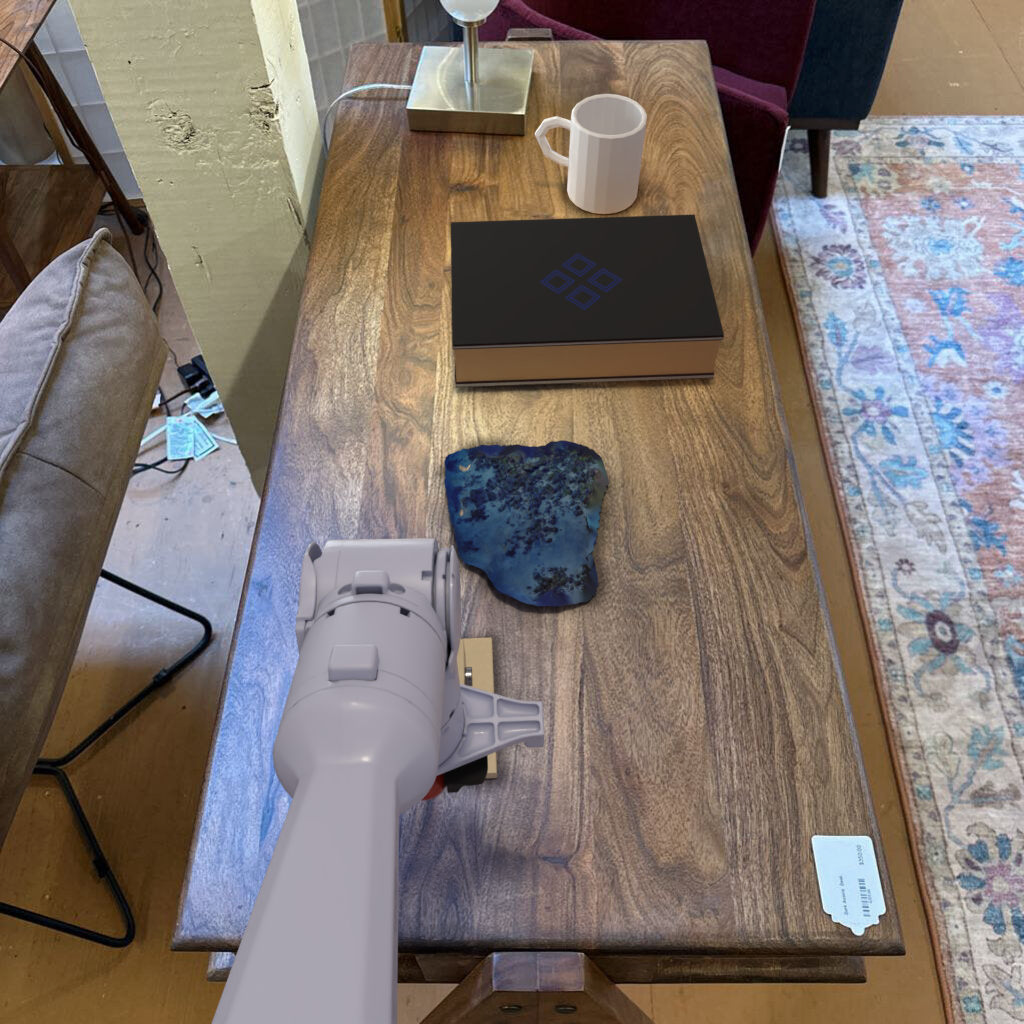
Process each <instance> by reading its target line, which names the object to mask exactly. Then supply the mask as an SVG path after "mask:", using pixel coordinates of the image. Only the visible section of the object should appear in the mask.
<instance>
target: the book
mask: <svg viewBox="0 0 1024 1024" xmlns="http://www.w3.org/2000/svg"><path fill="white" fill-rule="evenodd" d="M700 235H701V234H700V231H699V225H698V222H697V218H696V215H695V214H668V215H667V214H666V215H665V214H664V215H636V216H635V215H633V216H603V217H602V216H601V217H573V218H570V217H569V218H543V219H542V218H541V219H537V218H536V219H511V220H507V219H506V220H479V221H451V222H450V262H451V263H450V265H451V266H450V269H451V272H450V273H451V274H450V275H451V277H450V278H451V283H450V284H451V342H452V343H451V348H452V350H453V351H454V384H455V389H457V388H460V389H461V388H484V387H487V388H489V387H513V386H514V387H516V386H539V385H540V386H541V385H542V386H544V385H569V384H596V383H597V384H598V383H624V382H627V383H628V382H654V381H655V382H656V381H681V380H706V379H707V380H708V379H710V380H711V379H714V376H715V372H714V371H715V370H714V369H715V367H716V366H715V365H716V361H717V357H718V355H719V350H720V345H721V342H722V341H724V337H725V334H724V329H723V324H722V321H721V316H720V313H719V309H718V304H717V300H716V297H715V293H714V289H713V285H712V280H711V276H710V272H709V268H708V264H707V259H706V255H705V252H704V251H705V250H704V247H703V243H702V239H701V236H700Z"/></svg>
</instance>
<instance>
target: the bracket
mask: <svg viewBox="0 0 1024 1024" xmlns="http://www.w3.org/2000/svg"><path fill="white" fill-rule="evenodd" d="M493 651H494V650H493V638H492V637H470V638H460V646H459V650H458V655H457V665H458V673H459V682H460V684H464V685H467V686H470V687H474V688H477V689H481V690H484V691H487V692H491V693H494V694H495V680H494V679H495V678H494V677H495V676H494V654H493V653H494V652H493ZM497 760H498V759H497V752H494V753H492V754H490V755H488V772H487V775H486V778H485V780H486V779H497V778H498V763H497Z"/></svg>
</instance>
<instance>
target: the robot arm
mask: <svg viewBox="0 0 1024 1024" xmlns="http://www.w3.org/2000/svg"><path fill="white" fill-rule="evenodd" d="M439 549H440V550H439ZM458 558H459V557H458V554H457V551H456V548H455V547H454V545H450V547H441V548H439V543H438V539H437V537H417V538H416V537H415V538H414V537H413V538H412V537H410V538H365V539H364V538H360V539H357V538H356V539H328V540H327V541H326V542H325V544H324V546H323V549H321V546H320V545H319V544H318V543H317V541H316V542H315V541H311V542H310V543H309V544H308V546H307V548H306V551H305V553H304V555H303V558H302V564H301V569H300V570H301V571H300V581H299V590H298V609H297V614H296V617H295V627H294V628H295V629H294V632H295V639H296V643H297V649H298V659H297V663H296V666H295V669H294V673H293V676H292V680H291V684H290V687H289V690H288V694H287V697H286V701H285V704H284V708H283V711H282V715H281V718H280V722H279V725H278V730H277V733H276V736H275V740H274V742H273V746H272V762H273V763H272V764H273V769H274V771H275V774H276V778H277V779H278V781H279V783H280V785H281V786H282V788H283V790H284V791H285V792H286V793H287V795H288V797H290V798H291V799H292V800H291V802H290V804H289V808H288V811H287V813H286V816H285V819H284V822H283V824H282V827H281V830H280V833H279V836H278V838H277V841H276V843H275V847H274V850H273V852H272V855H271V858H270V861H269V863H268V866H267V868H266V871H265V874H264V877H263V880H262V883H261V885H260V889H259V890H258V893H257V896H256V899H255V901H254V905H253V907H252V911H251V913H250V915H249V919H248V921H247V924H246V926H245V929H244V932H243V935H242V938H241V941H240V943H239V946H238V949H237V952H236V955H235V957H234V960H233V964H232V966H231V969H230V971H229V974H228V977H227V980H226V982H225V985H224V987H223V991H222V994H221V997H220V999H219V1002H218V1004H217V1007H216V1010H215V1012H214V1016H213V1018H212V1021H211V1024H398V981H399V980H398V977H399V975H398V973H399V971H398V969H399V968H398V967H399V964H398V963H399V962H398V961H399V950H398V949H399V886H400V885H399V881H400V879H399V877H400V873H399V871H400V870H399V867H400V816H402V814H405V813H407V812H409V811H410V810H411V809H413V808H414V807H415V806H417V804H418V803H420V802H422V801H421V800H422V799H423V798H424V797H425V796H426V794H427V793H428V792H429V790H430V789H431V787H432V785H433V784H434V781H435V779H436V776H438V775H440V774H443V773H444V786H445V788H446V792H447V794H454V793H455V794H456V793H459V792H460V790H461V789H462V788H463V787H468V786H469V787H470V786H471V787H472V786H478V785H481V784H484V782H485V780H486V779H485V778H486V775H487V772H488V755H490V754H492V753H494V752H496V753H497V752H499V751H502V750H504V749H506V748H509V747H512V746H515V745H519V744H521V743H524V747H526V748H529V749H531V748H533V749H534V748H544V746H545V733H546V732H545V719H544V705H543V701H542V700H521V699H516V698H512V697H507V696H505V695H501V694H497V693H495V692H494V693H491V692H487V691H484V690H481V689H477V688H474V687H470V686H467V685H464V684H460V682H459V673H458V665H457V655H458V650H459V646H460V639H461V633H462V631H461V629H462V627H461V626H462V596H461V594H462V592H461V591H462V589H461V574H460V573H461V572H460V571H461V570H460V562H459V559H458Z"/></svg>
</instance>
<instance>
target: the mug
mask: <svg viewBox="0 0 1024 1024" xmlns="http://www.w3.org/2000/svg"><path fill="white" fill-rule="evenodd" d="M647 118H648V115H647V112H646V109H645V108H644V107H643V106H642V105H641V104H640V103H639V102H637V101H636V100H634V99H633V98H630V97H628V96H624V95H621V94H616V93H615V94H614V93H601V94H595V95H591V96H587V97H586V98H583V99H582V100H580V101H578V102H577V103H576V104H575V106H574V107H573V108H572V110H571V114H570V119H567V118H564V117H561V116H558V115H555V116H552V117H548V118H544V119H543V120H542V122H541V124H539V126H538V128H537V129H536V131H535V132H534V138H535V139H536V141H537V143H538V146H539V147H540V150H541V151H542V153H543V156H544V157H545V158H547V159H548V160H551V161H552V162H554V163H556V164H557V165H559V166H562V167H567V187H566V192H567V195H568V198H569V200H570V201H571V202H572V203H573V204H574V205H575V206H576V207H577V208H579V209H581V210H583V211H585V212H589V213H591V214H598V215H609V214H616V213H619V212H623V211H625V210H626V209H628V208H629V207H630V206H632V205H633V204H634V202H635V200H637V196H638V189H639V183H640V175H641V167H642V166H641V165H642V159H643V152H644V144H645V136H646V127H647V121H648V119H647ZM556 128H562V129H566V130H568V131H569V148H568V157H567V156H564V155H562V154H560V153H559V152H557V151H555V150H554V149H553V148H552V147H551V145H550V142H549V141H548V138H547V137H546V135H547V133H548V132H549V130H552V129H556Z"/></svg>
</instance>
